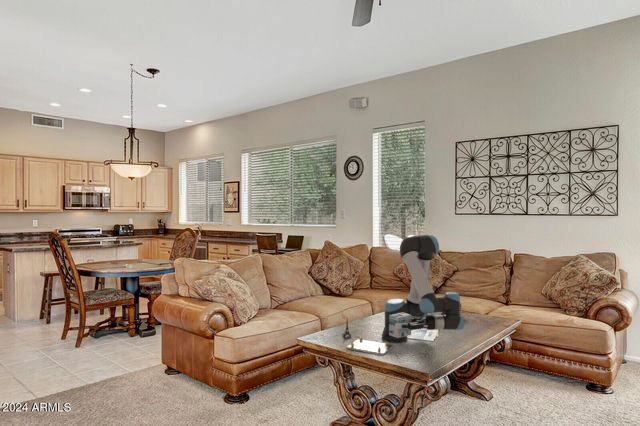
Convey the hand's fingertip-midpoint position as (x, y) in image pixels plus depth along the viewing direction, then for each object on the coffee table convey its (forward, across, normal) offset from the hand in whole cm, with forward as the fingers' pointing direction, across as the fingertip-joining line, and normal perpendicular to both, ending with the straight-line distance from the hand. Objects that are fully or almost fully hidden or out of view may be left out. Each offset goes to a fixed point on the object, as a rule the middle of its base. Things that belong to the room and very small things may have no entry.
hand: (392, 322), depth 230 cm
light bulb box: (-4, 0, -7) cm, 8 cm away
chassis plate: (+10, +16, -19) cm, 27 cm away
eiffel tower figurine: (+21, +37, -20) cm, 47 cm away
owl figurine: (-58, +84, -19) cm, 104 cm away
